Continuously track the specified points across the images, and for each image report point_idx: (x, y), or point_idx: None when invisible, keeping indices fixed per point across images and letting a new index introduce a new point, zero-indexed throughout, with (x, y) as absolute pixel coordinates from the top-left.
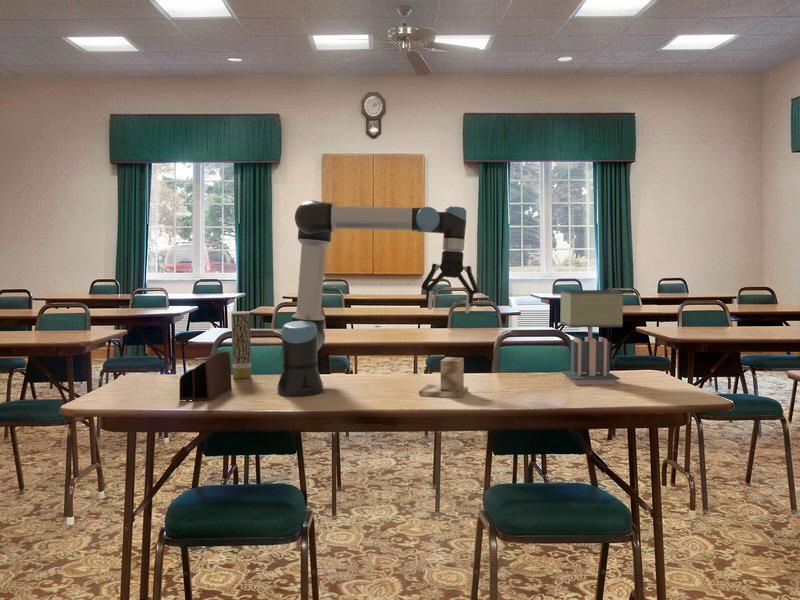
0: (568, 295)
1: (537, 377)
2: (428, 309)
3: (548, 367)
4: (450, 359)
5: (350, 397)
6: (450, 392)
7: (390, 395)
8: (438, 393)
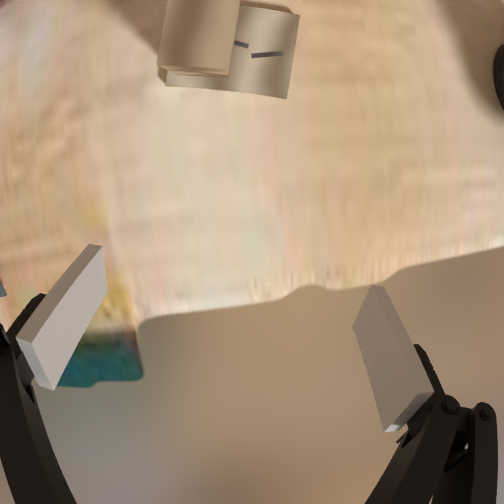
0: None
1: (46, 288)
2: (379, 286)
3: (64, 375)
4: (205, 17)
5: (441, 16)
6: None
7: (367, 22)
8: (243, 6)
